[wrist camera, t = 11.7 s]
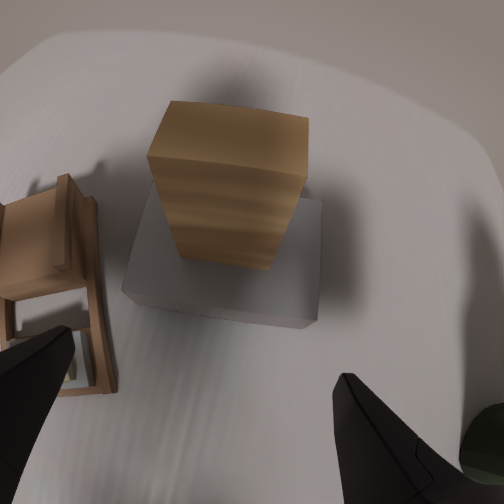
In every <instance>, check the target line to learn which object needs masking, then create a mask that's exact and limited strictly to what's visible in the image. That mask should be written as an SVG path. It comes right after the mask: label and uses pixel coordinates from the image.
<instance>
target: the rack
mask: <svg viewBox="0 0 504 504" xmlns="http://www.w3.org/2000/svg"><path fill="white" fill-rule="evenodd" d="M82 287H87V297H88V307H89V316H90V325H91V327H86V328H80V329H74V330H72V334H73V338H74V343H75V354H74V356H73V359H72V361H71V364H70V366H69V369H68V371H67V374H66V376H65V379H64V382H63V384H62V386H61V389H60V391H59V393H58V395H57V397H63V396H78V395H90V394H100V393H102V394H109V393H116V392H117V388H116V383H115V378H114V373H113V368H112V363H111V358H110V352H109V346H108V340H107V333H106V326H105V319H104V311H103V302H102V293H101V282H100V270H99V254H98V230H97V202H96V201H95V199H94V198H93V196H91V197H88V198H84V196H83V195H82V193H81V192H80V190H79V189H78V187H77V186H76V184H75V183H74V181H73V179H72V178H71V176H70V175H69V173H67V174H64V175H61V176H58V178H57V187H56V188H53V189H50V190H47V191H44V192H41V193H38V194H35V195H32V196H29V197H26V198H23V199H21V200H18V201H15V202H12V203H10V204H7V205H4V206H3V205H2V204H1V203H0V341H1V351H3V350H5V349H8V348H10V347H12V346H14V345H17V344H19V343H21V342H23V341H26V340H28V339H30V338H32V337H35V336H37V335H35V336H28V337H21V338H14V330H13V309H12V302H15V301H20V300H24V299H29V298H34V297H39V296H44V295H49V294H53V293H58V292H63V291H68V290H73V289H78V288H82Z"/></svg>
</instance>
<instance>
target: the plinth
mask: <svg viewBox="0 0 504 504" xmlns="http://www.w3.org/2000/svg"><path fill="white" fill-rule="evenodd" d="M321 236H322V201H320V200H315V199H309V198H303V197H299V199H298V202H297V204H296V207H295V209H294V212H293V214H292V216H291V219H290V221H289V224H288V226H287V229H286V231H285V233H284V236H283V238H282V241H281V243H280V246H279V248H278V250H277V253H276V255H275V257H274V260H273V262H272V265H271V267H270V269H269V270H262V269H255V268H248V267H241V266H235V265H228V264H221V263H215V262H208V261H202V260H195V259H189V258H182V257H180V256H179V253H178V250H177V247H176V245H175V242H174V239H173V236H172V233H171V230H170V227H169V224H168V222H167V219H166V216H165V213H164V210H163V207H162V203H161V200H160V197H159V194H158V191H157V188H156V185H155V182H154V180H153V183H152V186H151V188H150V191H149V194H148V197H147V201H146V204H145V207H144V210H143V213H142V216H141V219H140V223H139V226H138V229H137V233H136V236H135V240H134V243H133V247H132V250H131V254H130V258H129V261H128V265H127V269H126V273H125V277H124V281H123V285H122V289H121V291H122V292H123V293H125V294H126V295H127V296H128V297H129V298H130V299H132V300H133V301H134V302H135V303H136V304H141V305H146V306H151V307H156V308H161V309H167V310H172V311H178V312H184V313H189V314H195V315H201V316H208V317H214V318H221V319H227V320H234V321H241V322H248V323H256V324H263V325H271V326H280V327H288V328H297V329H304V328H305V327H307V326H309V325H311V324H312V323H314V322H316V321H317V317H318V302H319V285H320V264H321Z"/></svg>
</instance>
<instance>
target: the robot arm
mask: <svg viewBox="0 0 504 504" xmlns="http://www.w3.org/2000/svg"><path fill="white" fill-rule="evenodd" d="M74 354H75V343H74V338H73V334H72V330H71V329H70V328H69V327H65V326H62V325H60V326H57V327H55V328H53V329H51V330H48V331H46V332H44V333H42V334H39V335H37V336H35V337H32V338H30V339H28V340H26V341H23V342H21V343H19V344H17V345H14V346H12V347H10V348H8V349H5V350H3V351H1V352H0V504H12V501H13V498H14V495H15V492H16V490H17V487H18V484H19V481H20V478H21V476H22V473H23V471H24V468H25V465H26V463H27V461H28V458H29V456H30V453H31V451H32V449H33V446H34V444H35V442H36V439H37V437H38V435H39V433H40V430H41V428H42V426H43V424H44V422H45V419H46V417H47V415H48V413H49V411H50V409H51V407H52V405H53V403H54V401H55V399H56V397H57V395H58V393H59V391H60V389H61V386H62V384H63V382H64V379H65V376H66V374H67V371H68V369H69V366H70V364H71V361H72V359H73V356H74ZM332 398H333V418H334V436H335V443H336V450H337V456H338V463H339V469H340V476H341V483H342V490H343V498H344V504H504V485H489V484H481V483H478V482H476V481H474V480H472V479H470V478H469V477H467V476H466V475H465V474H463V473H462V472H461V471H459V470H458V469H457V468H455V467H454V466H453V465H451V464H450V463H449V462H447V461H446V460H445V459H444V458H442V457H441V456H440V455H439V454H437V453H436V452H435V451H434V450H433V449H432V448H431V447H430V446H428V445H427V444H426V443H425V442H424V441H423V440H422V439H421V438H420V437H419V438H418V435H417V434H416V433H415V432H414V431H413V430H412V429H410V428H409V427H408V426H407V425H406V424H405V423H404V422H403V421H402V420H401V419H400V418H399V417H398V416H397V415H396V414H395V413H394V412H393V411H392V410H391V409H390V408H389V407H388V406H387V405H386V404H385V403H384V402H383V401H382V400H381V399H380V398H378V397H377V396H376V395H375V394H374V393H373V392H372V391H371V390H370V389H369V388H368V387H367V386H366V385H365V384H364V383H363V382H362V381H361V380H360V379H359V378H358V377H357V376H356V375H355V374H353V373H342V374H341V375H340V376H339V379H338V381H337V383H336V385H335V387H334V390H333V395H332Z"/></svg>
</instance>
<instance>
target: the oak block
mask: <svg viewBox="0 0 504 504" xmlns="http://www.w3.org/2000/svg"><path fill="white" fill-rule="evenodd" d="M308 134H309V118H306V117H301V116H296V115H290V114H284V113H279V112H273V111H266V110H260V109H253V108H245V107H237V106H229V105H219V104H209V103H197V102H183V101H171V102H170V104H169V106H168V108H167V110H166V112H165V115H164V117H163V119H162V121H161V123H160V126H159V128H158V130H157V132H156V135H155V137H154V139H153V142H152V144H151V146H150V149H149V151H148V154H147V159H148V162H149V165H150V169H151V172H152V175H153V178H154V182H155V185H156V188H157V191H158V194H159V197H160V200H161V203H162V207H163V210H164V213H165V216H166V219H167V222H168V224H169V227H170V230H171V233H172V236H173V239H174V242H175V245H176V247H177V250H178V253H179V256H180V257H182V258H189V259H195V260H202V261H208V262H215V263H221V264H228V265H235V266H241V267H248V268H255V269H262V270H269V269H270V267H271V265H272V262H273V260H274V257H275V255H276V253H277V250H278V248H279V246H280V243H281V241H282V238H283V236H284V233H285V231H286V229H287V226H288V224H289V221H290V219H291V216H292V214H293V212H294V209H295V207H296V204H297V202H298V199H299V197H300V194H301V192H302V189H303V187H304V184H305V182H306V179H307V177H308Z"/></svg>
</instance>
